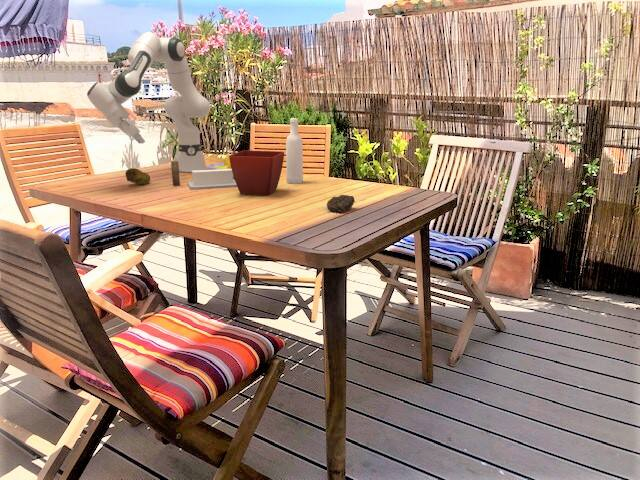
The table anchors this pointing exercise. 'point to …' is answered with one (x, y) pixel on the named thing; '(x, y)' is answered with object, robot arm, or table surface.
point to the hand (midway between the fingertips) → (142, 142)
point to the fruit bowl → (221, 165)
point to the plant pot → (257, 171)
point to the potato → (137, 176)
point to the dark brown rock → (340, 203)
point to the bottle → (294, 154)
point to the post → (175, 173)
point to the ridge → (212, 179)
